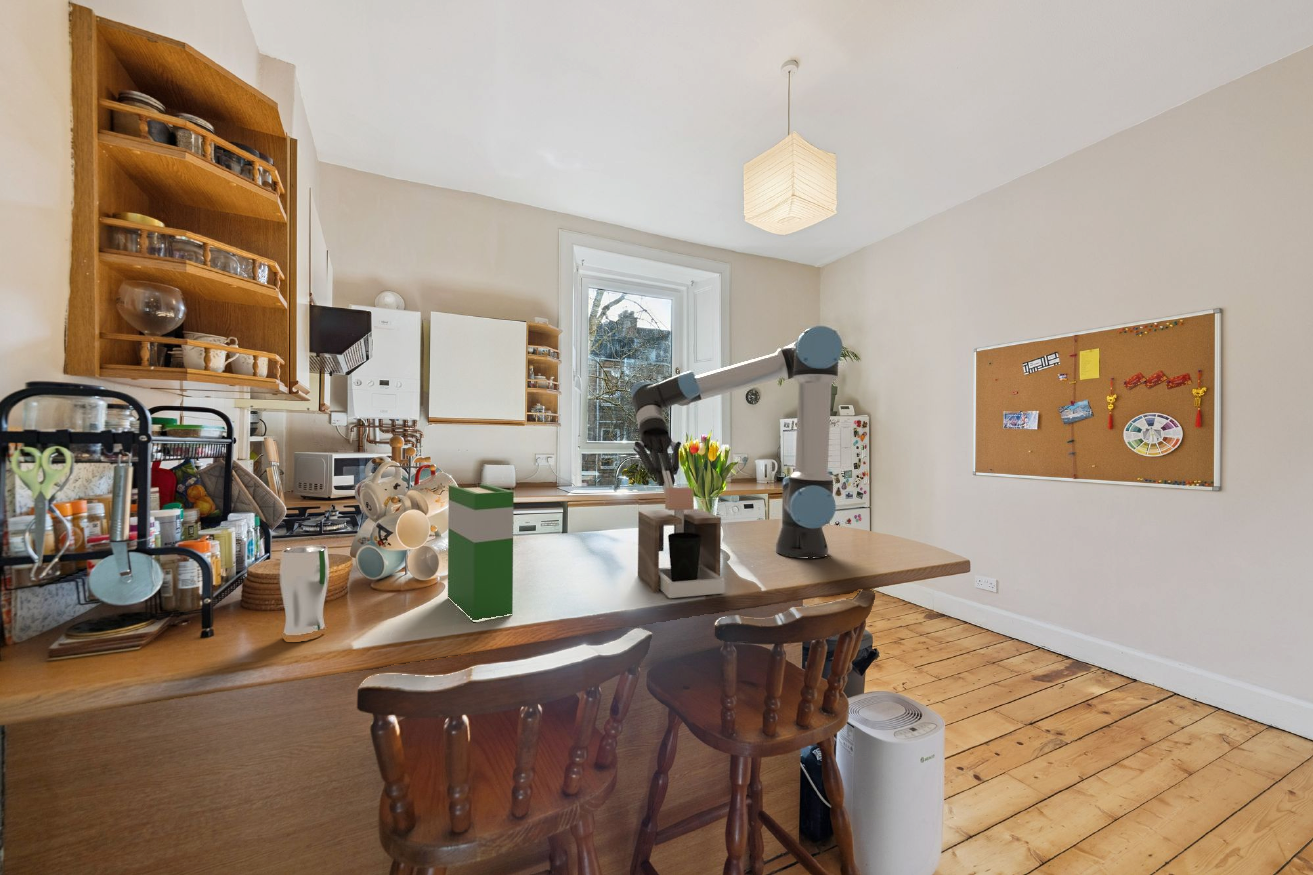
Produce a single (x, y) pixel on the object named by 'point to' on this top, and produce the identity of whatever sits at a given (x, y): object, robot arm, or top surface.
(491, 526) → the hardback book
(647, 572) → the tunnel
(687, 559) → the cup
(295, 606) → the beer glass
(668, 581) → the slider
